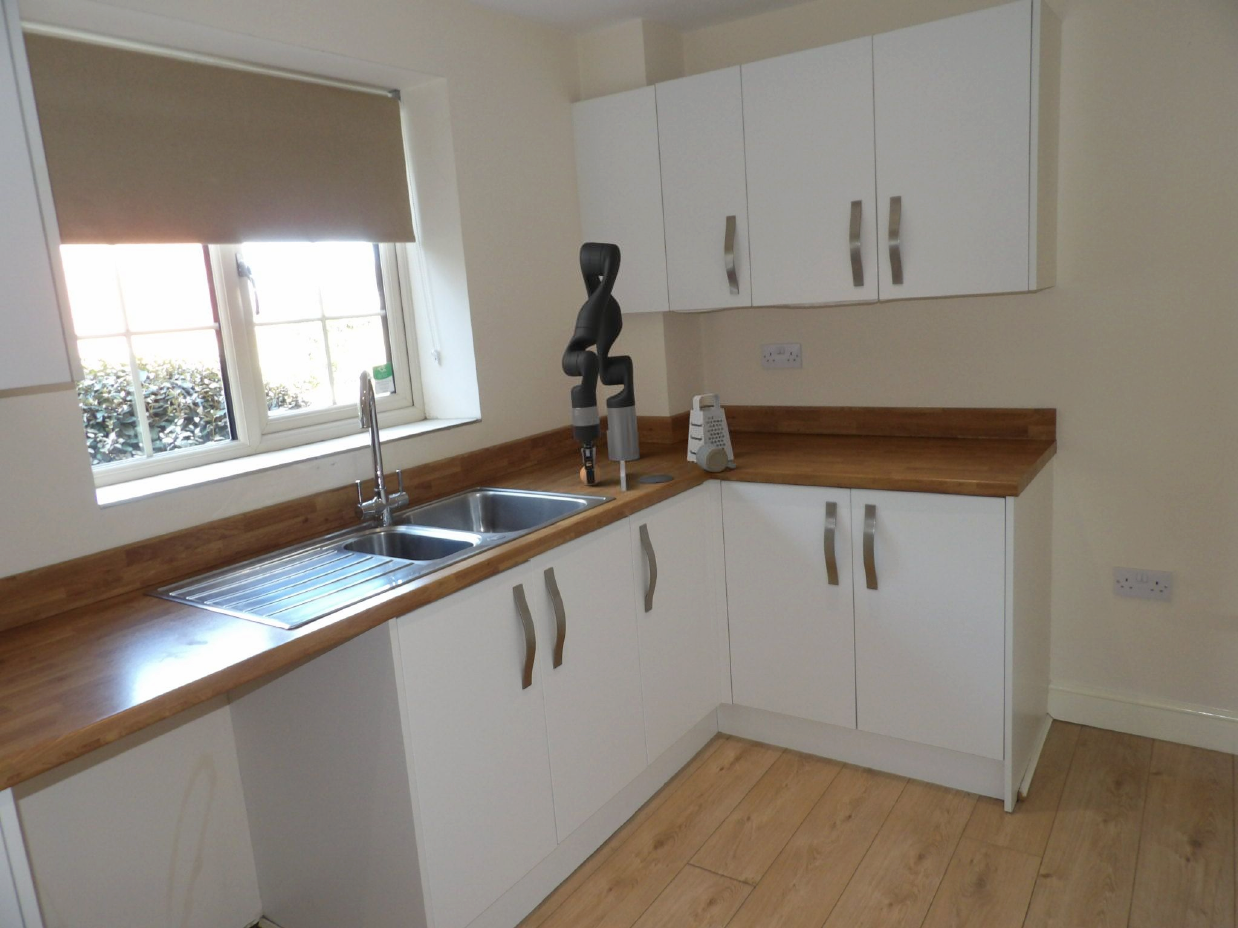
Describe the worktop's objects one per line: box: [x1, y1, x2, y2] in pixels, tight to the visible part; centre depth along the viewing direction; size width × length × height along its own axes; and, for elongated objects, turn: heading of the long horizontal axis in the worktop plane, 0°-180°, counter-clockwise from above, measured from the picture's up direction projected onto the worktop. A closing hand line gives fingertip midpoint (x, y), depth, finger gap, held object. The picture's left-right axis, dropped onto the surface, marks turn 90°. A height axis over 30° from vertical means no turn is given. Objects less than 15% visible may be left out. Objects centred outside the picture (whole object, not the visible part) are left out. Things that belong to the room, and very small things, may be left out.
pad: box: [637, 474, 674, 484], centre depth 253 cm, size 10×10×1 cm
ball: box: [579, 464, 602, 486], centre depth 253 cm, size 6×6×6 cm
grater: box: [686, 393, 735, 463], centre depth 275 cm, size 10×10×20 cm
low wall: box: [619, 461, 627, 492], centre depth 253 cm, size 24×1×4 cm, turn 0°
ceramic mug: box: [696, 443, 737, 473], centre depth 258 cm, size 11×8×8 cm
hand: (591, 481), depth 253 cm, fingers closed on ball, 6 cm apart
